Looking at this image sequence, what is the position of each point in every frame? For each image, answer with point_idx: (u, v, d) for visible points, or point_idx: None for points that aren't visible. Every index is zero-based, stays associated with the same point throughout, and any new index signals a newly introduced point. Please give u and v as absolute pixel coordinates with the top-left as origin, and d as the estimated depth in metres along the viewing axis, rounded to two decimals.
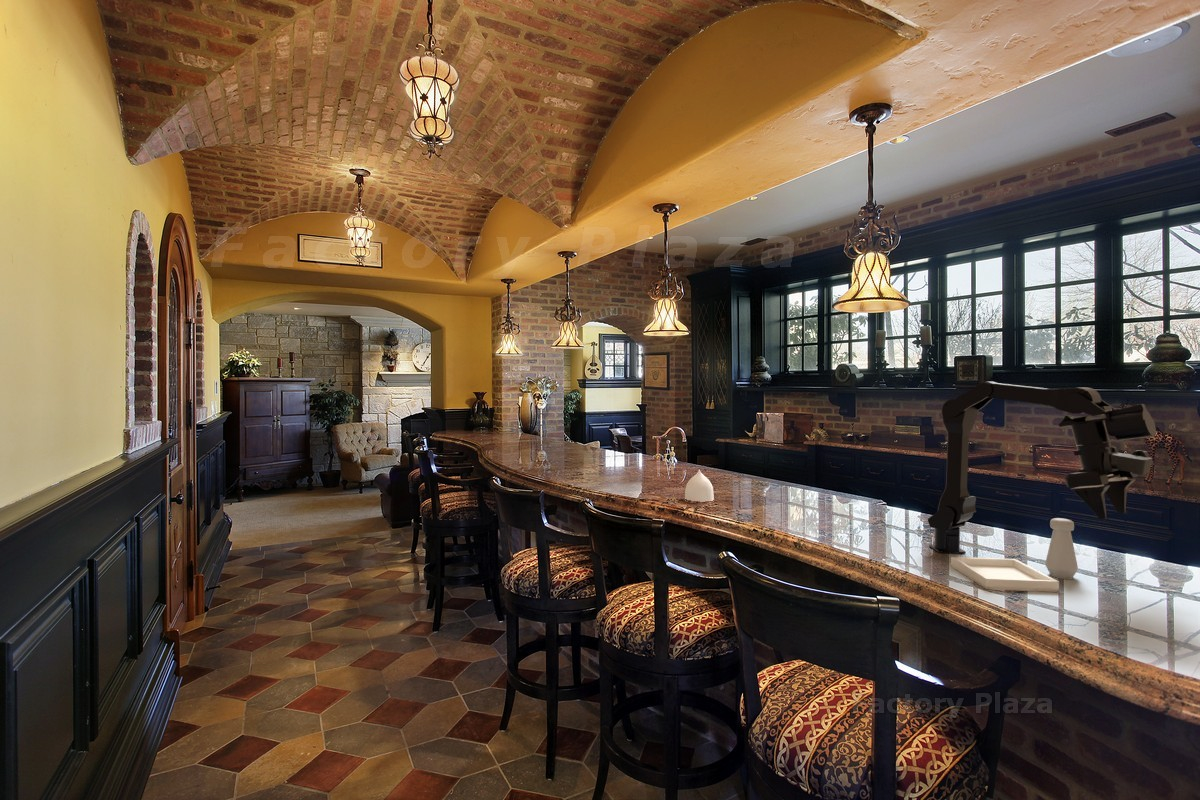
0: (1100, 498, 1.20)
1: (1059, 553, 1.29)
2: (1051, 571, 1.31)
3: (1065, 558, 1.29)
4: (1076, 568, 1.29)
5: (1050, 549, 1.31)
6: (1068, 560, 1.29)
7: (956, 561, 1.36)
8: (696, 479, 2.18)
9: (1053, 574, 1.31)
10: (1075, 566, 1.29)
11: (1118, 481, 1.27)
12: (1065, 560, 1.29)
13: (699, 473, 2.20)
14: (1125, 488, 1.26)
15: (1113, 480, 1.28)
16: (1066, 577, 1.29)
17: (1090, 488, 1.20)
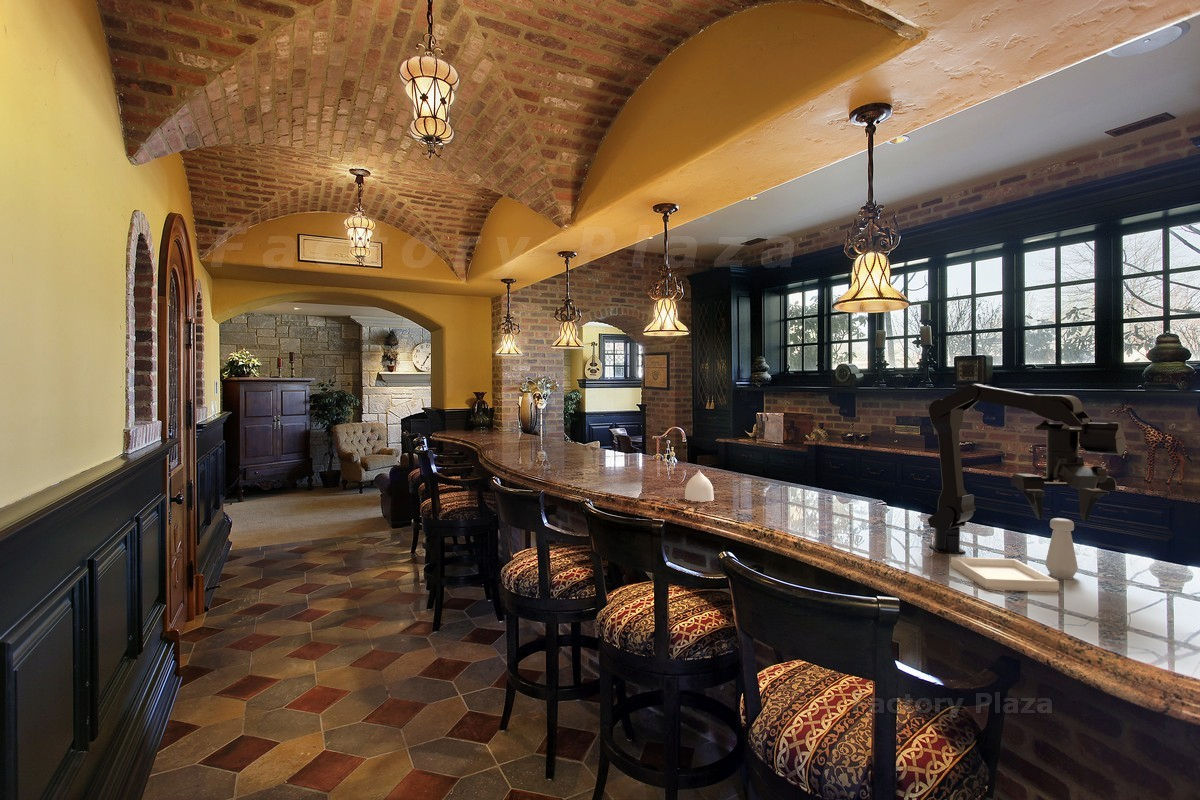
0: (1035, 500, 1.31)
1: (1059, 553, 1.29)
2: (1051, 571, 1.31)
3: (1065, 558, 1.29)
4: (1076, 568, 1.29)
5: (1050, 549, 1.31)
6: (1068, 560, 1.29)
7: (956, 561, 1.36)
8: (695, 479, 2.18)
9: (1053, 574, 1.31)
10: (1075, 566, 1.29)
11: (1089, 490, 1.29)
12: (1065, 560, 1.29)
13: (699, 473, 2.20)
14: (1093, 498, 1.29)
15: (1087, 488, 1.30)
16: (1066, 577, 1.29)
17: (1025, 490, 1.31)
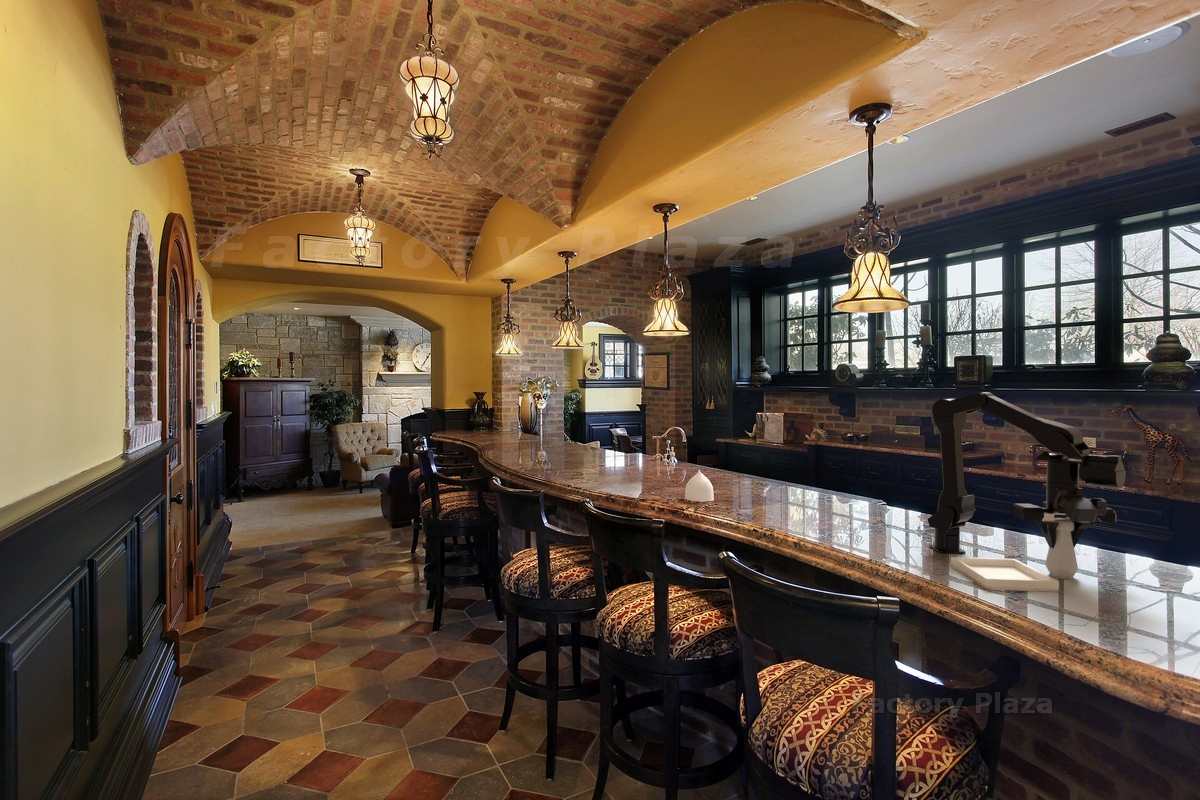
0: (1048, 532, 1.30)
1: (1059, 553, 1.29)
2: (1051, 571, 1.31)
3: (1065, 558, 1.29)
4: (1076, 568, 1.29)
5: (1050, 549, 1.31)
6: (1068, 560, 1.29)
7: (956, 561, 1.36)
8: (696, 479, 2.18)
9: (1053, 574, 1.31)
10: (1075, 566, 1.29)
11: (1075, 521, 1.30)
12: (1066, 560, 1.29)
13: (699, 473, 2.20)
14: (1079, 529, 1.29)
15: None
16: (1066, 577, 1.29)
17: (1038, 521, 1.31)
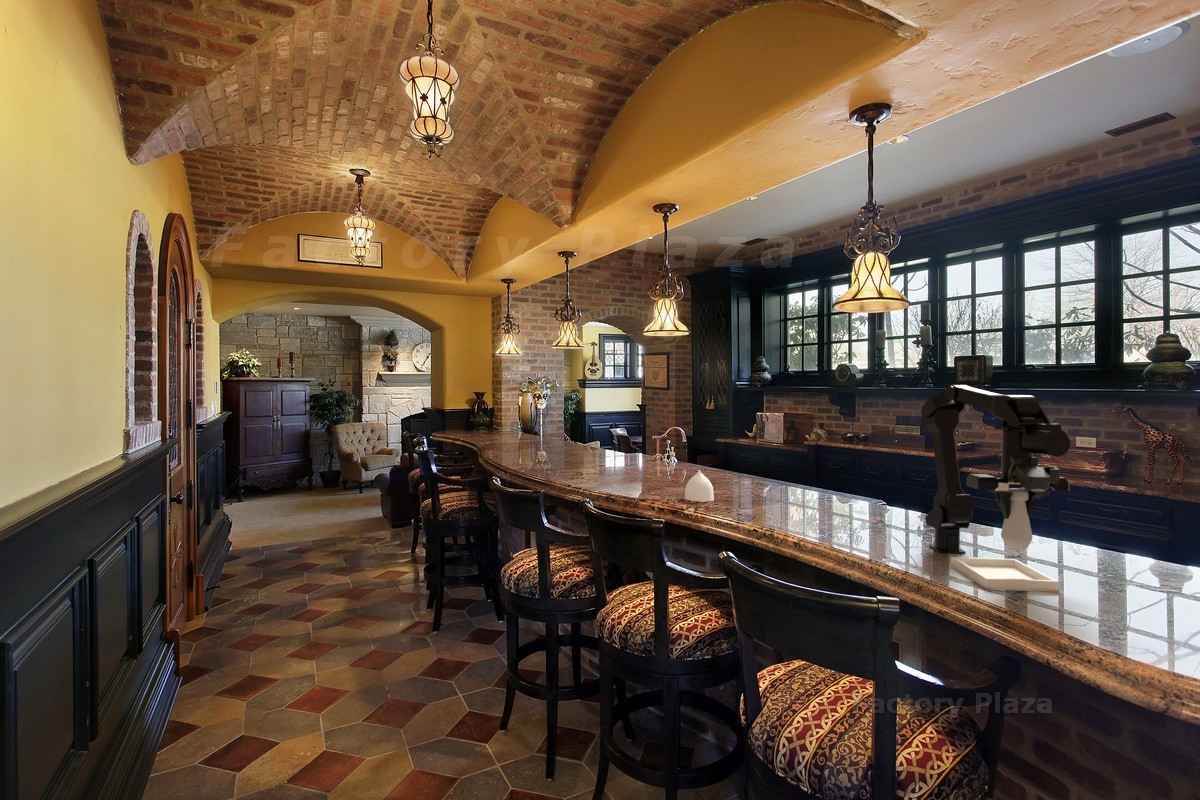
0: (1003, 501, 1.29)
1: (1014, 523, 1.28)
2: (1006, 541, 1.30)
3: (1020, 528, 1.28)
4: (1031, 538, 1.28)
5: (1005, 519, 1.30)
6: (1023, 530, 1.27)
7: (956, 561, 1.36)
8: (696, 479, 2.18)
9: (1008, 544, 1.30)
10: (1030, 536, 1.27)
11: (1030, 491, 1.29)
12: (1020, 530, 1.28)
13: (699, 473, 2.20)
14: (1033, 499, 1.28)
15: (1028, 489, 1.30)
16: (1021, 547, 1.28)
17: (993, 491, 1.30)
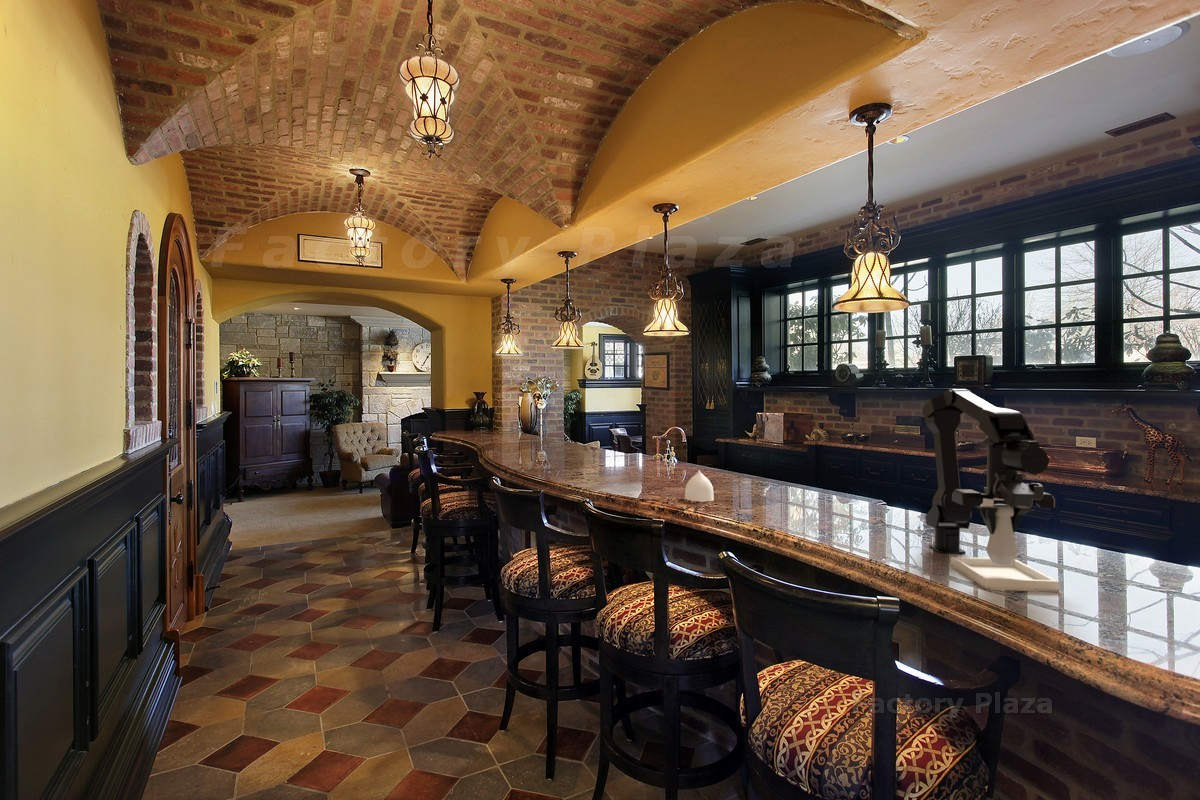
0: (988, 517, 1.29)
1: (999, 539, 1.28)
2: (991, 557, 1.30)
3: (1004, 544, 1.28)
4: (1015, 554, 1.28)
5: (990, 535, 1.30)
6: (1007, 546, 1.27)
7: (956, 561, 1.36)
8: (696, 479, 2.18)
9: (993, 560, 1.30)
10: (1014, 552, 1.27)
11: (1015, 507, 1.29)
12: (1005, 546, 1.28)
13: (699, 473, 2.20)
14: (1018, 515, 1.28)
15: None
16: (1006, 563, 1.28)
17: (978, 506, 1.30)
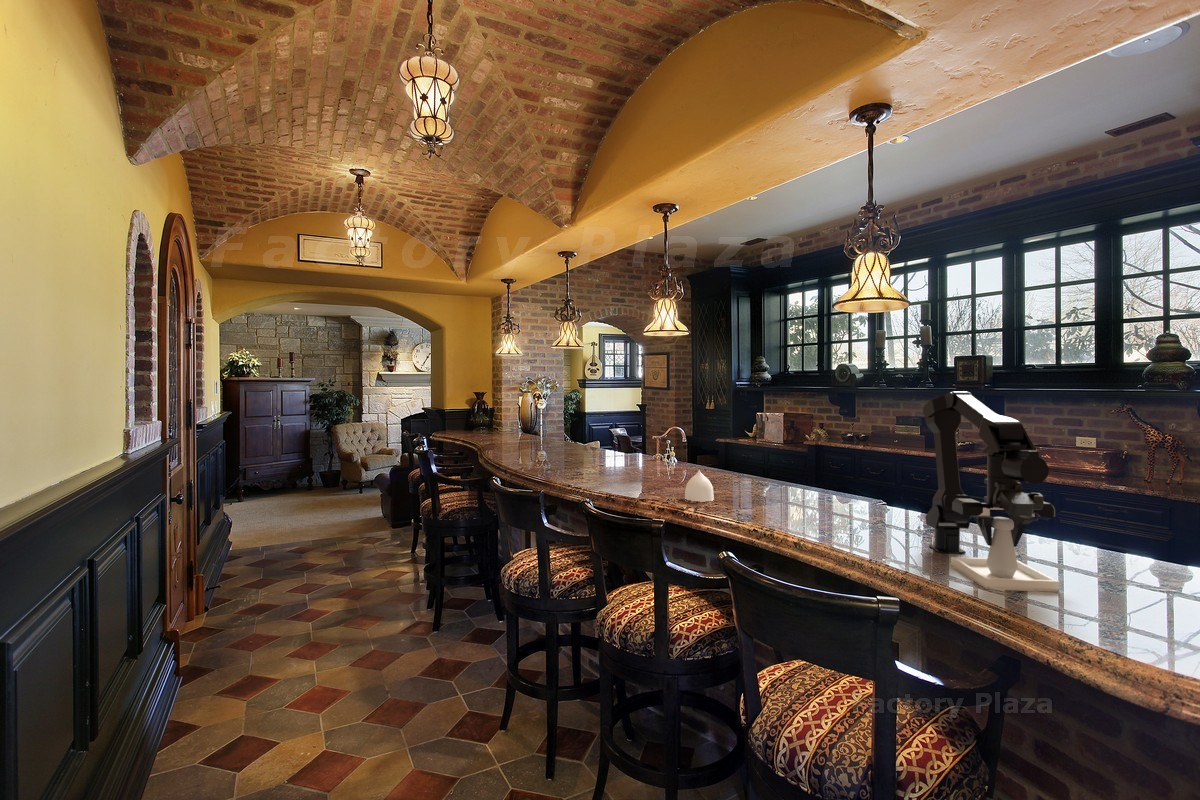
0: (984, 526, 1.29)
1: (999, 553, 1.28)
2: (991, 570, 1.30)
3: (1004, 557, 1.28)
4: (1016, 567, 1.28)
5: (991, 548, 1.30)
6: (1008, 559, 1.27)
7: (956, 561, 1.36)
8: (696, 479, 2.18)
9: (993, 573, 1.30)
10: (1014, 565, 1.27)
11: (1019, 516, 1.29)
12: (1005, 559, 1.28)
13: (699, 473, 2.20)
14: (1022, 524, 1.28)
15: None
16: (1006, 576, 1.28)
17: (974, 515, 1.30)
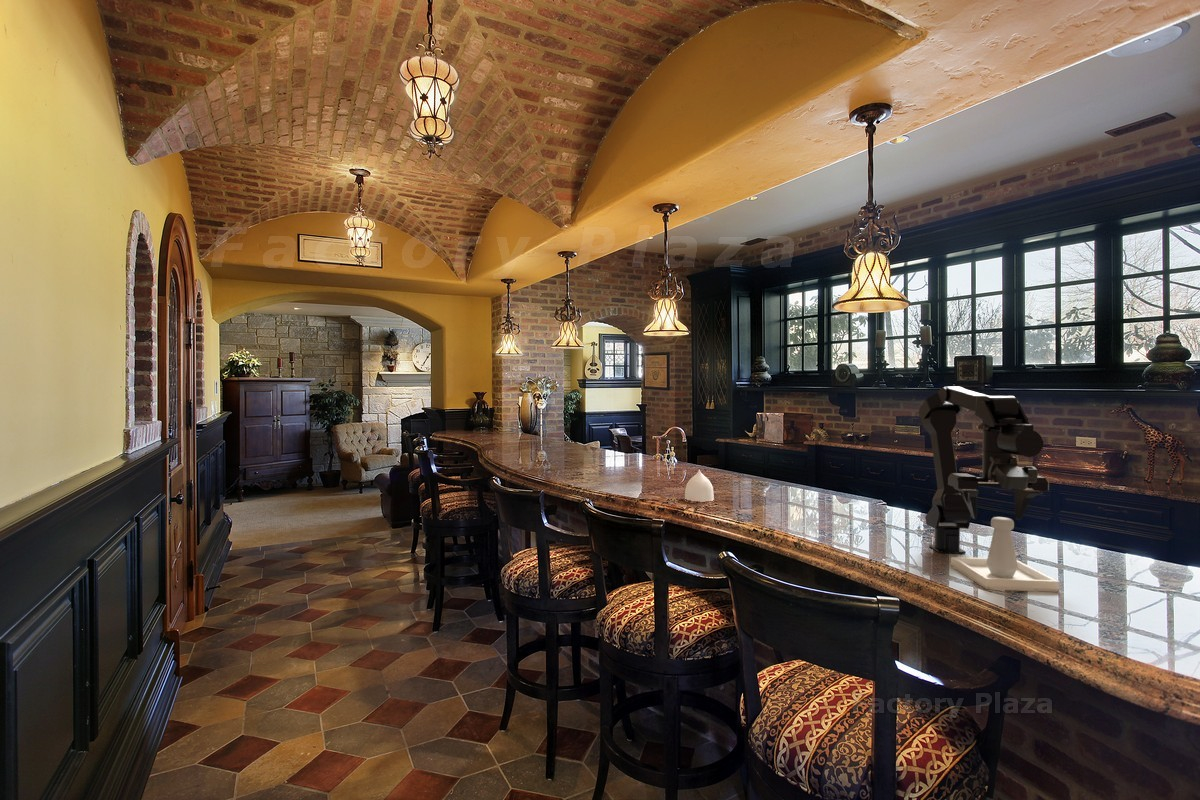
0: (970, 500, 1.32)
1: (999, 553, 1.28)
2: (991, 570, 1.30)
3: (1004, 557, 1.28)
4: (1016, 567, 1.28)
5: (991, 548, 1.30)
6: (1008, 559, 1.27)
7: (956, 561, 1.36)
8: (696, 479, 2.18)
9: (993, 573, 1.30)
10: (1014, 565, 1.27)
11: (1023, 490, 1.30)
12: (1005, 559, 1.28)
13: (699, 473, 2.20)
14: (1026, 498, 1.30)
15: None
16: (1006, 576, 1.28)
17: (960, 489, 1.32)
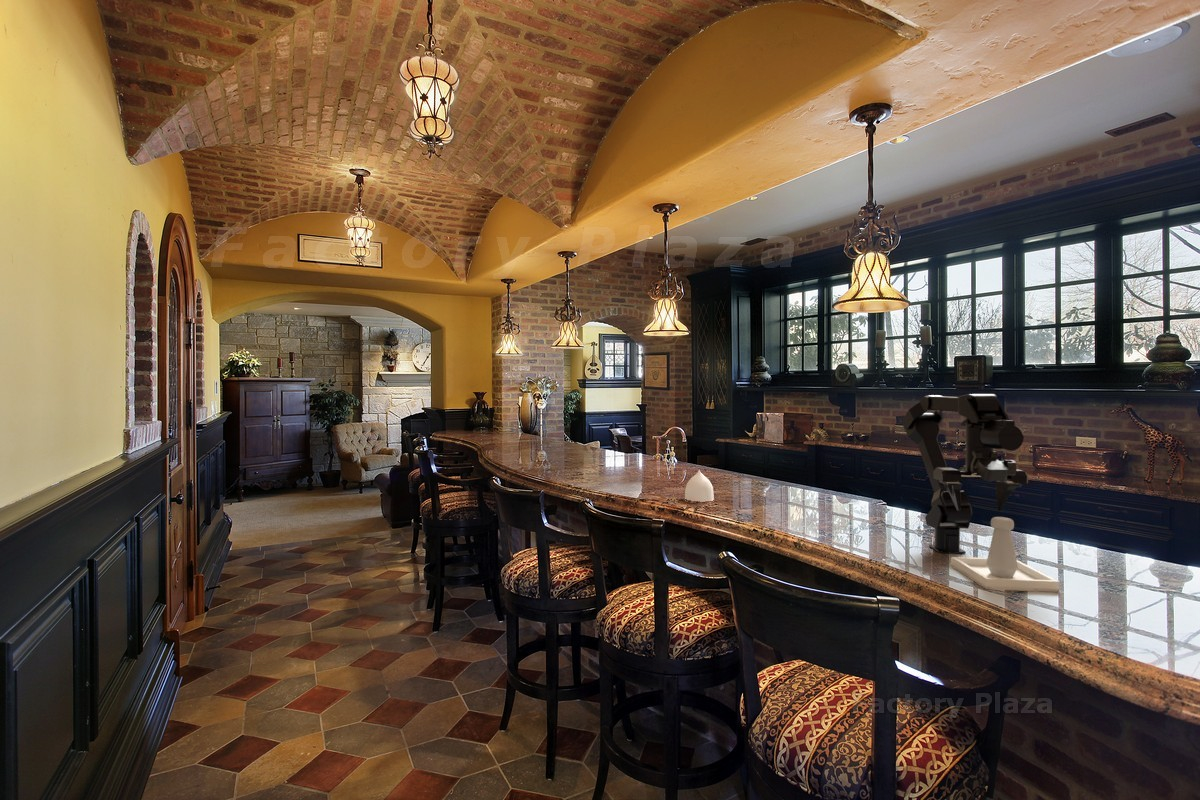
0: (954, 493, 1.39)
1: (999, 553, 1.28)
2: (991, 570, 1.30)
3: (1004, 557, 1.28)
4: (1016, 567, 1.28)
5: (991, 548, 1.30)
6: (1008, 559, 1.27)
7: (956, 561, 1.36)
8: (696, 479, 2.18)
9: (993, 573, 1.30)
10: (1014, 565, 1.27)
11: (1004, 483, 1.38)
12: (1005, 559, 1.28)
13: (699, 473, 2.20)
14: (1007, 490, 1.37)
15: (1003, 481, 1.39)
16: (1006, 576, 1.28)
17: (944, 482, 1.40)
